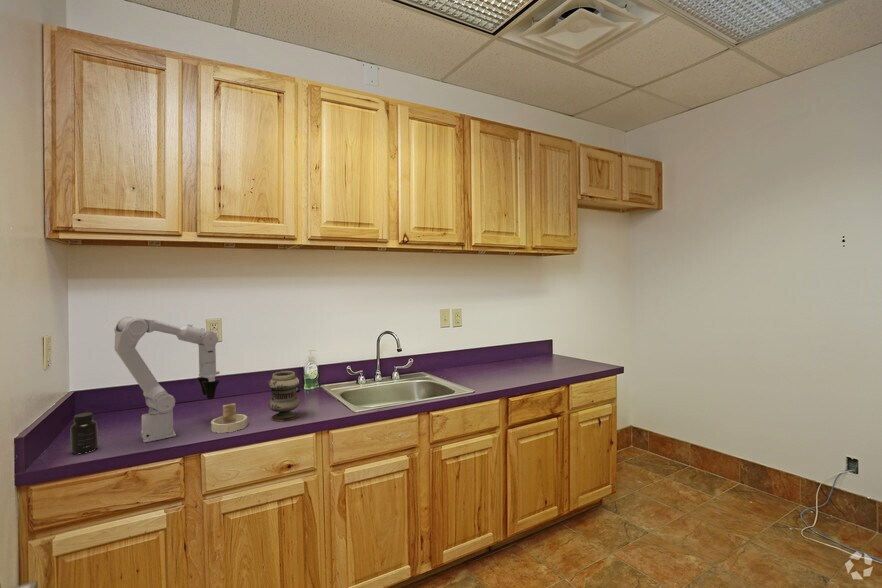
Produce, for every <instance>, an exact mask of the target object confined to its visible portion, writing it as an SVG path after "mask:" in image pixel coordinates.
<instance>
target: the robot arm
mask: <svg viewBox="0 0 882 588" xmlns="http://www.w3.org/2000/svg"><path fill="white" fill-rule="evenodd" d="M113 330H114V331H113V332H114V334H115V335H114V351H115V353H116V354H117V355H118V357H119V358H120V359H121V361H122V363H123V364H124V365H125V367H126V368H127V369H128V371H129V373H130V374H131V375H132V377H133V378H134V380H135V382H136V383H137V384H138V385H139V388H140V389H141V391H142V395H143V396H144V398H145V399H144V400H145V405H146V406H147V407H148V408H149V409H148V413H143V414H142V415H141V418H140V419H141V431H140V435H141V439H142V441H143V443H150V442H154V441H158V440H165V439H167V438H173V437H177V433H176V432H175V430H174V411H173V409H174V408H175V404H176V398H175V397H174V395H172V394H169V393H168V391H167V390H166V389H165V388H163V386H162V385H160V383H159V381H158V380H157V379H156V377H155V376H154V374H153V373H152V371H151V370H150V368H149V367H148V365H147V363H146V362H145V361H144V359H143V358H142V356H141V355H140V353H139V351H138V350H137V349H136V347H137V345H138V342H139V341H140V340H141V339H142V338H143V336H145V334H146V333H148V334H149V333H152V332H160V333H165V334H169V335H174V336H176V338H177V339H178V340H179V341H182V342H187V343H191V344H195V345H198V369H199V370H198V377H197V378H196V379H197V380H198V382H199V385H200V388H201V392H202V395H203V396H206V399H207V400H213V399H215V395H216V394H215V393H216V390H217V386H218V384H219V383H220V380H219V379H216V376H217V375H220V373H221V372H220V371H217V358H216V357H217V355H216V354H217V352H216V351H217V350H216V345H217V343H218V342H219V337H218V335H217V333H215V332H214V331H209V330H206V328H202V327H201V328H198V327H196V326H195V327H194V326H193V324H190V323H189V324H183V325H182V326H176V325H173V324H170V323H165V322H162V321H159V320H155V319H148V318H140V317H133V316H125V317H122V318H121V319H119V321H117V324H116V325H115V327H114V329H113Z"/></svg>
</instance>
